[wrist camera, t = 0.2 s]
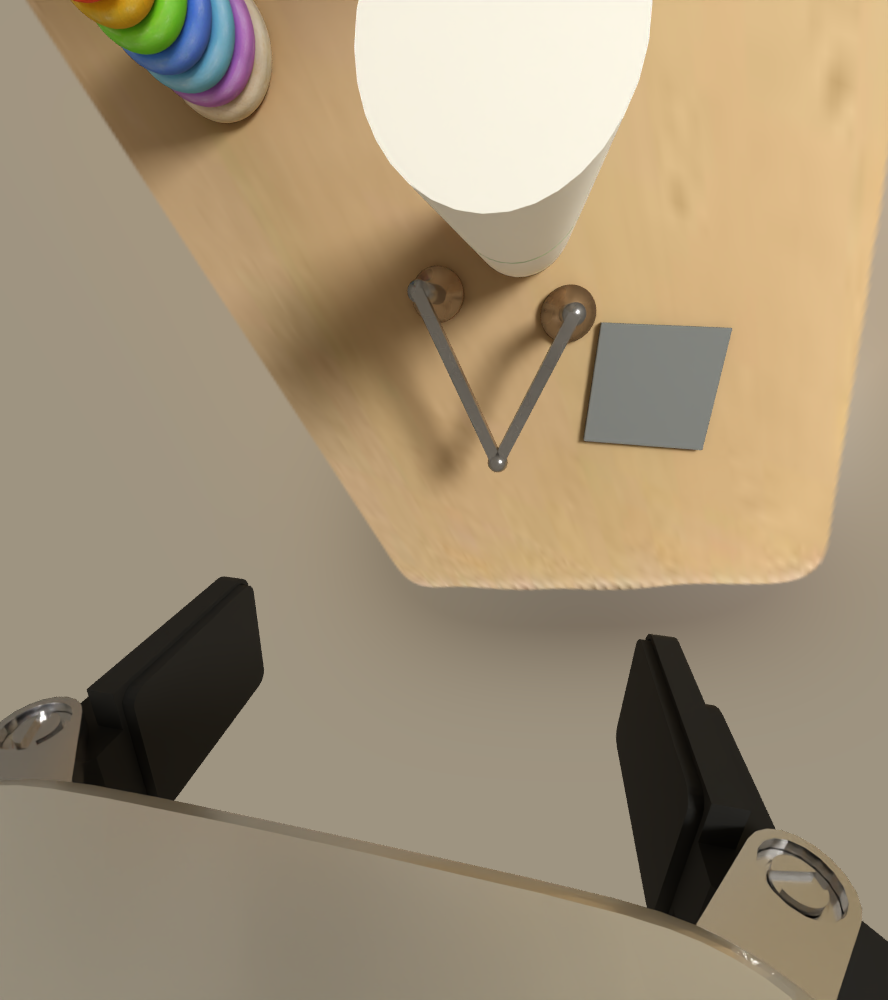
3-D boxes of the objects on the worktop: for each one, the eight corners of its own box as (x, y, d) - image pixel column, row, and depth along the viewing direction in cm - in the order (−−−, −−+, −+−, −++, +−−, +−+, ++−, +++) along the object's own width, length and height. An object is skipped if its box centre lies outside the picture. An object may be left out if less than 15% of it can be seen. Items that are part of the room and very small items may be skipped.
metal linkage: (413, 265, 37) (384, 254, 30) (601, 270, 35) (618, 260, 28) (411, 439, 42) (386, 464, 35) (575, 452, 40) (583, 482, 33)
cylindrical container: (546, 140, 32) (570, -273, 10) (589, 241, 34) (700, 96, 11) (455, 204, 35) (301, -6, 12) (501, 296, 36) (442, 267, 14)
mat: (600, 322, 36) (601, 322, 35) (729, 327, 35) (732, 328, 34) (583, 439, 39) (584, 440, 39) (699, 448, 38) (702, 450, 37)
